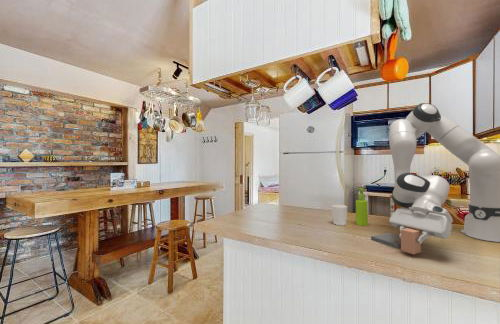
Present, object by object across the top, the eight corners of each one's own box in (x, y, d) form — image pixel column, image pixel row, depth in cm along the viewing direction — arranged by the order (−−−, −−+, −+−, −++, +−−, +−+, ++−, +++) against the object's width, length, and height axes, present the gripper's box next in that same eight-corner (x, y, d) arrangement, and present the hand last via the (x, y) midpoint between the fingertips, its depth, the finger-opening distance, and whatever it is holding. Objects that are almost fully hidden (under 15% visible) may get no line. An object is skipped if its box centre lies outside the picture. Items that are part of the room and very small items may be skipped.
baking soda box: (390, 222, 137) (389, 194, 137) (403, 223, 135) (403, 194, 135) (394, 227, 128) (394, 196, 128) (408, 227, 126) (408, 197, 126)
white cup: (350, 224, 134) (350, 206, 134) (340, 226, 130) (340, 208, 130) (338, 221, 141) (338, 204, 141) (329, 223, 137) (329, 205, 137)
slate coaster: (388, 235, 114) (388, 232, 114) (415, 243, 103) (415, 239, 103) (371, 239, 108) (371, 236, 108) (397, 248, 98) (397, 244, 98)
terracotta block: (408, 248, 94) (408, 227, 94) (420, 252, 90) (420, 230, 90) (401, 250, 92) (400, 229, 92) (413, 254, 88) (413, 232, 88)
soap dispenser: (363, 222, 138) (363, 187, 138) (369, 225, 131) (369, 188, 131) (353, 222, 138) (352, 187, 137) (359, 225, 131) (358, 188, 131)
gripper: (394, 202, 103) (380, 228, 99) (451, 210, 85) (436, 242, 81) (401, 211, 105) (387, 237, 101) (458, 221, 87) (444, 253, 83)
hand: (409, 239), depth 91 cm, fingers closed on terracotta block, 4 cm apart
